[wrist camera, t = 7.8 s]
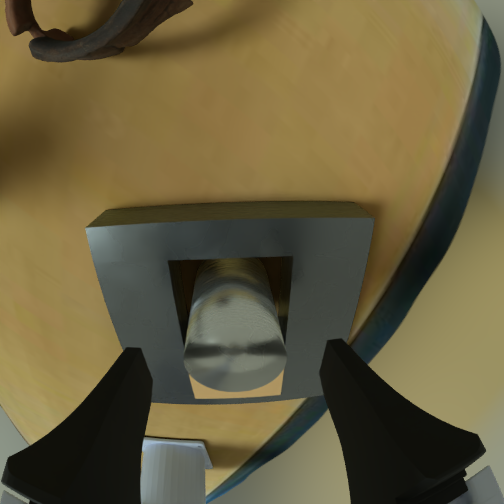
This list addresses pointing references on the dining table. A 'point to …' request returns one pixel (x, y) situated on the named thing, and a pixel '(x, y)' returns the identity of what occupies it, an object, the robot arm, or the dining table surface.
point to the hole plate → (232, 246)
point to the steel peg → (233, 327)
